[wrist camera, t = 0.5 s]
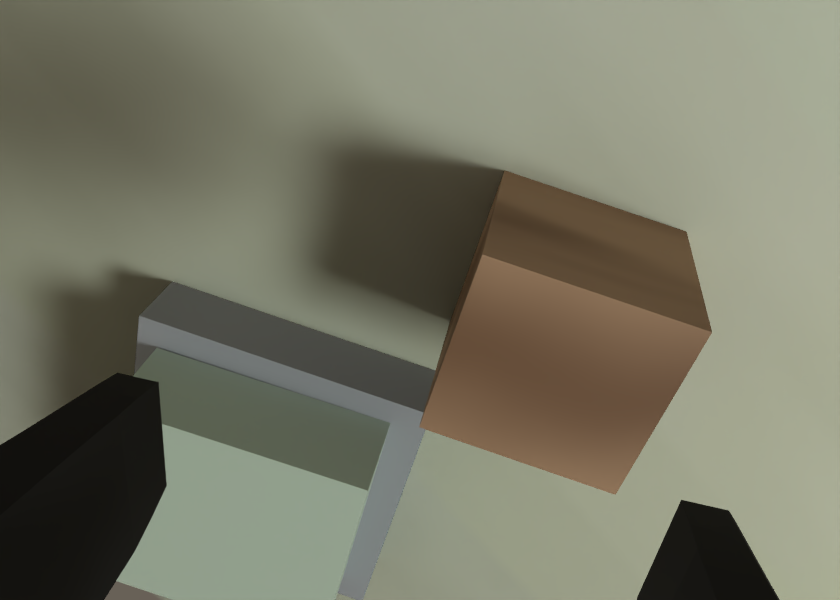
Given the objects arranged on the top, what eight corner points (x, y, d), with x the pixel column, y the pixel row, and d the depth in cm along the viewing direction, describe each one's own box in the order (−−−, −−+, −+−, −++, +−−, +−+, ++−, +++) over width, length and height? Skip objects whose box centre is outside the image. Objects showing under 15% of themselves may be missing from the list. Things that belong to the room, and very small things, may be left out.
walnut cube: (610, 374, 20) (615, 494, 17) (450, 319, 21) (419, 427, 17) (685, 230, 18) (712, 332, 14) (504, 169, 18) (482, 254, 14)
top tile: (342, 576, 24) (319, 648, 22) (143, 510, 24) (100, 576, 22) (390, 422, 20) (368, 490, 18) (157, 347, 20) (107, 405, 18)
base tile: (380, 540, 26) (362, 601, 24) (159, 464, 26) (121, 518, 24) (445, 360, 22) (430, 414, 20) (182, 271, 22) (139, 315, 20)
